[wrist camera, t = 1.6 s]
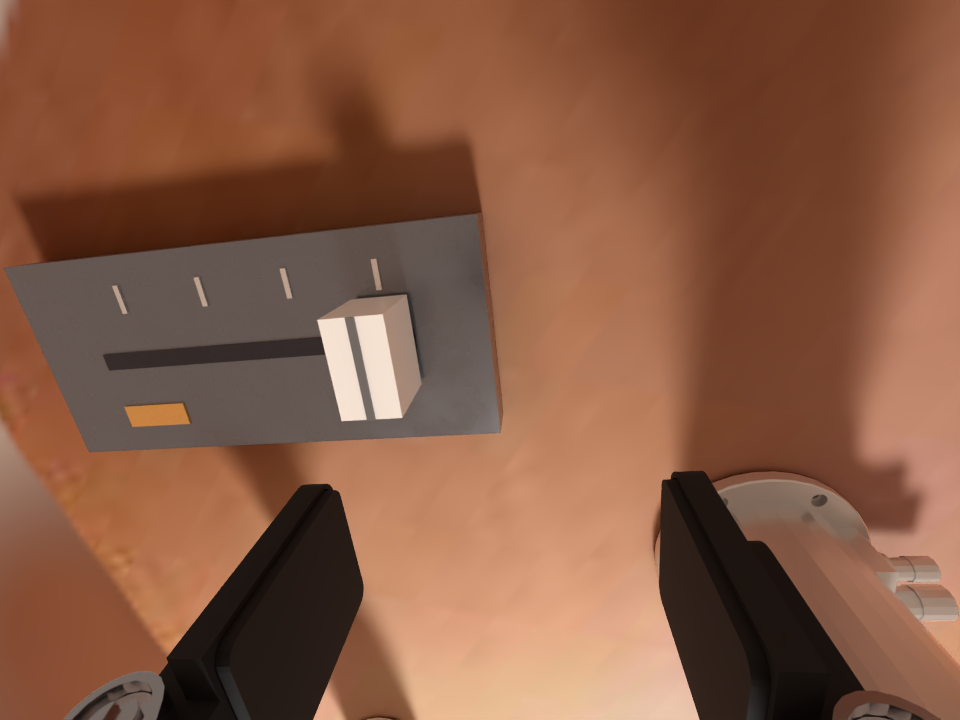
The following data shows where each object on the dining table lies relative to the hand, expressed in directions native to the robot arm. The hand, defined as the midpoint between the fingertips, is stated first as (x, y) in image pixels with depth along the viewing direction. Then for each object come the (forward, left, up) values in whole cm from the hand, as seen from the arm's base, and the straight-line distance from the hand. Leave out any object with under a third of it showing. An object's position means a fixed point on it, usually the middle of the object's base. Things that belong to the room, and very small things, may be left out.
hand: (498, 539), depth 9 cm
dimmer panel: (+15, 0, -18) cm, 23 cm away
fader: (+7, 0, -15) cm, 16 cm away
